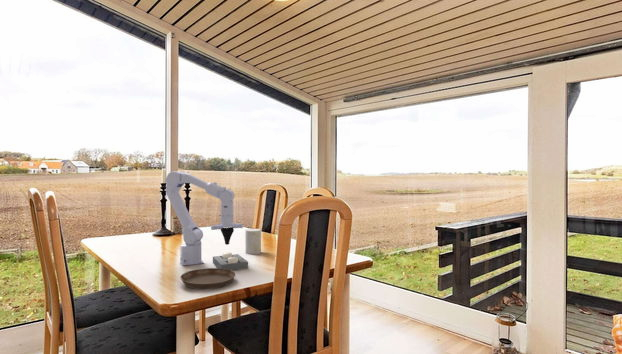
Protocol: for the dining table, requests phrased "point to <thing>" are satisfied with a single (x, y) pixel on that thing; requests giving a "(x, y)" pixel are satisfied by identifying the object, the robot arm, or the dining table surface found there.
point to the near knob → (232, 260)
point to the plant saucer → (207, 278)
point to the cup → (253, 241)
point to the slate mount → (233, 266)
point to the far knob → (226, 255)
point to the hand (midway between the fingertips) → (227, 244)
